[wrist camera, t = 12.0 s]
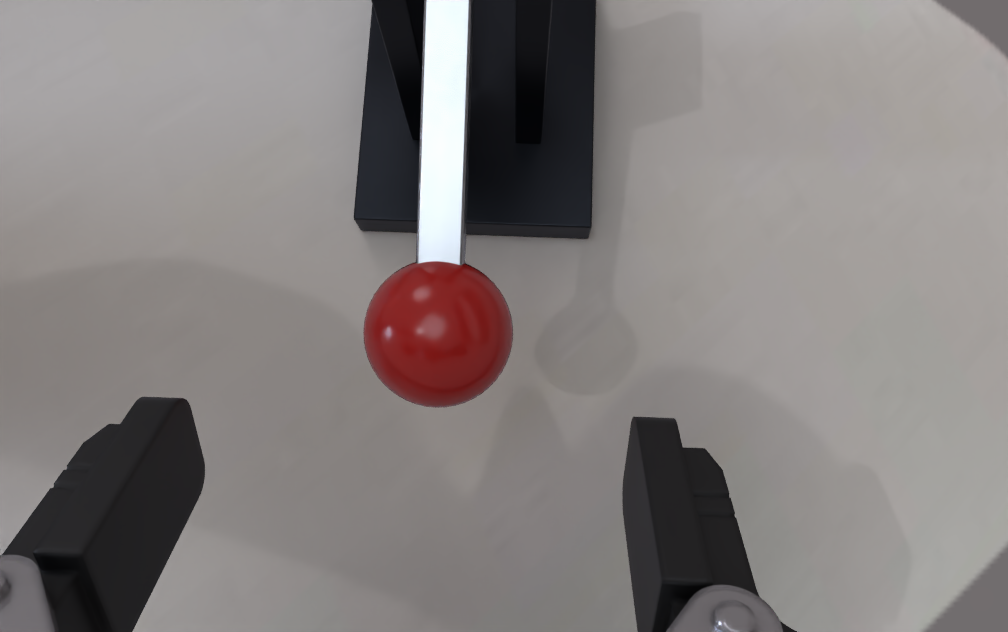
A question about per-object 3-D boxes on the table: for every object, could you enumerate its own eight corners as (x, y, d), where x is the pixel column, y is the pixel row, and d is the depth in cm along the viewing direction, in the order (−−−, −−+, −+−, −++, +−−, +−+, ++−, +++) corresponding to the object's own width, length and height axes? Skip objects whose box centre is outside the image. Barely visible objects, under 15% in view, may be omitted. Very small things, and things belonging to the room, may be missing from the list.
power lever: (511, 397, 21) (508, 423, 17) (376, 392, 21) (346, 416, 17) (533, -192, 20) (536, -294, 16) (393, -195, 20) (365, -298, 16)
